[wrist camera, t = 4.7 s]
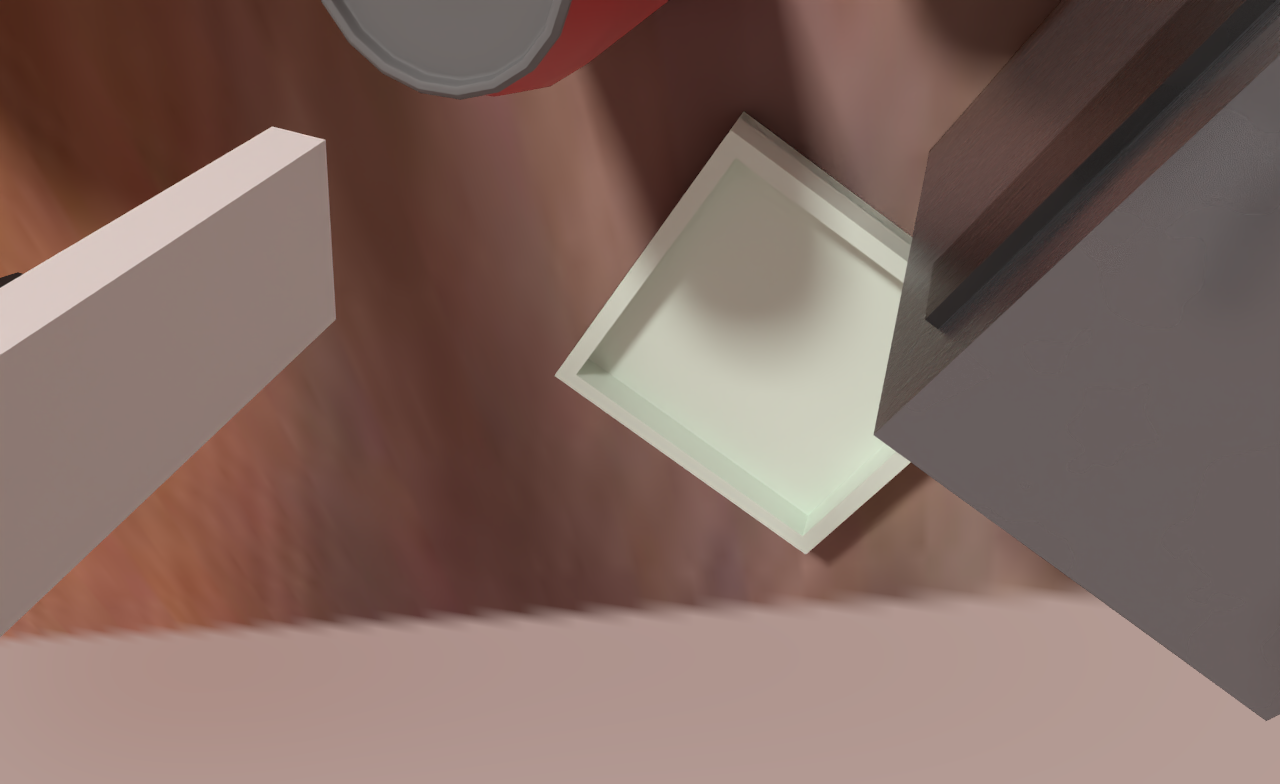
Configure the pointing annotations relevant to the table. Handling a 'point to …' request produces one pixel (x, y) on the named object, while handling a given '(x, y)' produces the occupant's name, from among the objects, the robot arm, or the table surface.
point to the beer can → (484, 40)
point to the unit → (1114, 320)
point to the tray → (758, 337)
